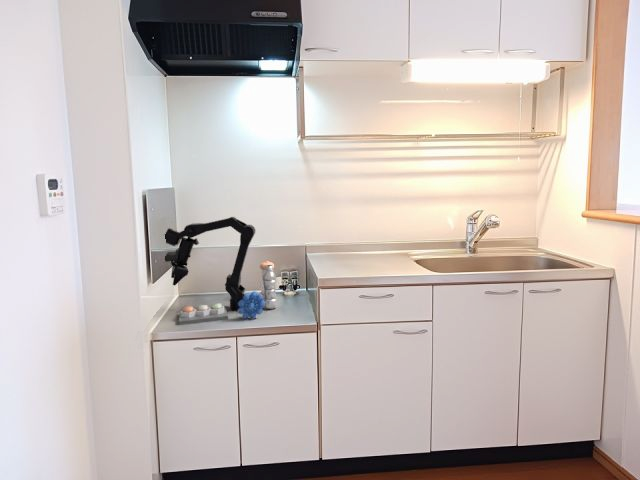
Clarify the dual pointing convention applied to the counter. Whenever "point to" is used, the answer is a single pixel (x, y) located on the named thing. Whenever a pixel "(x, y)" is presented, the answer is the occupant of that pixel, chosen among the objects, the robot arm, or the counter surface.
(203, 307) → the grey button
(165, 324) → the counter surface
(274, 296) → the plastic bottle
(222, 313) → the button panel
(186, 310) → the terracotta button
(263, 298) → the pepper shaker
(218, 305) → the sage button
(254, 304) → the grapes
